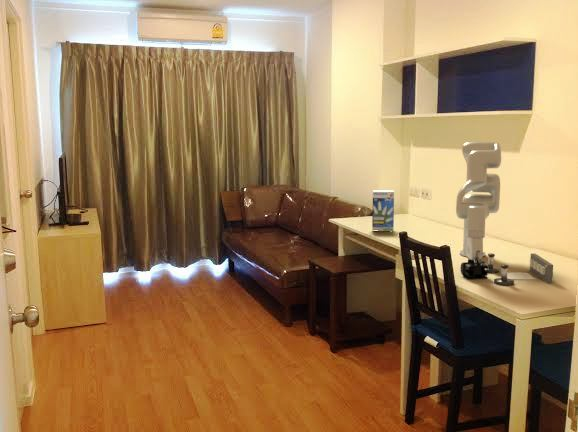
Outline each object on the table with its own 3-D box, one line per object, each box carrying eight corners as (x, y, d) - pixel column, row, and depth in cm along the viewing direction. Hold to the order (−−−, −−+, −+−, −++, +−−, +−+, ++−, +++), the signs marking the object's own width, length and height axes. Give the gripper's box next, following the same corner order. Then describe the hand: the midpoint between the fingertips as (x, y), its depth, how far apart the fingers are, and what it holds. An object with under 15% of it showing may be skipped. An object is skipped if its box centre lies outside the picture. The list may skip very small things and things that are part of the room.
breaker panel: (527, 270, 253) (528, 253, 252) (534, 270, 253) (535, 253, 252) (544, 283, 234) (545, 264, 232) (552, 283, 234) (553, 264, 232)
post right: (491, 280, 239) (492, 262, 238) (510, 280, 239) (511, 262, 238) (497, 286, 232) (498, 267, 230) (516, 286, 231) (517, 267, 230)
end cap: (480, 274, 249) (481, 259, 248) (488, 278, 242) (489, 263, 241) (459, 275, 248) (460, 261, 247) (466, 279, 241) (467, 265, 240)
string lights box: (372, 231, 346) (372, 191, 342) (373, 229, 353) (373, 189, 349) (393, 232, 343) (393, 191, 338) (393, 230, 350) (394, 190, 346)
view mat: (500, 273, 249) (500, 272, 249) (527, 273, 249) (527, 272, 248) (507, 279, 239) (507, 279, 239) (535, 279, 239) (535, 278, 239)
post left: (479, 268, 258) (479, 252, 257) (496, 268, 258) (497, 252, 256) (484, 273, 250) (485, 256, 249) (502, 273, 250) (503, 256, 248)
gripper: (462, 229, 250) (460, 266, 253) (472, 237, 233) (470, 276, 236) (478, 229, 250) (477, 266, 253) (490, 237, 233) (488, 276, 236)
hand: (474, 271), depth 244 cm, fingers open, 9 cm apart
